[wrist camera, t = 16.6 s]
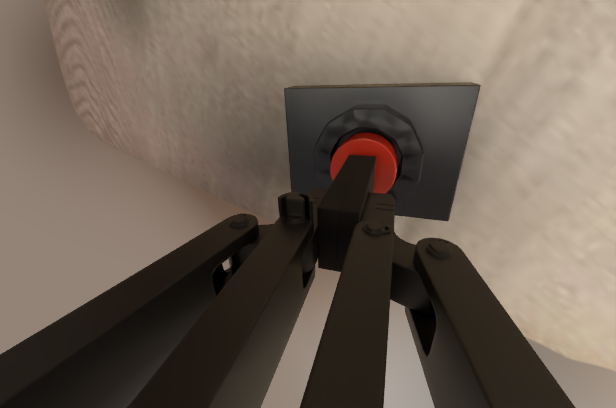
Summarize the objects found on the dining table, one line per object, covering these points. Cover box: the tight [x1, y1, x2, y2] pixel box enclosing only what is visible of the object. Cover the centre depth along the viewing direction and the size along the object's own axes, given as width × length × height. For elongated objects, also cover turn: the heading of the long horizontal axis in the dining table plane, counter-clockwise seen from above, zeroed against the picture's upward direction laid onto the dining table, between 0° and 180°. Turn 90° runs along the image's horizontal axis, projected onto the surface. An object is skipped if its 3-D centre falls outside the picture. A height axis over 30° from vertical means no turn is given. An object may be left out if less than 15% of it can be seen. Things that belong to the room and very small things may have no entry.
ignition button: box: [330, 132, 397, 194], centre depth 17 cm, size 4×4×2 cm
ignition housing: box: [284, 83, 480, 221], centre depth 19 cm, size 12×9×4 cm
